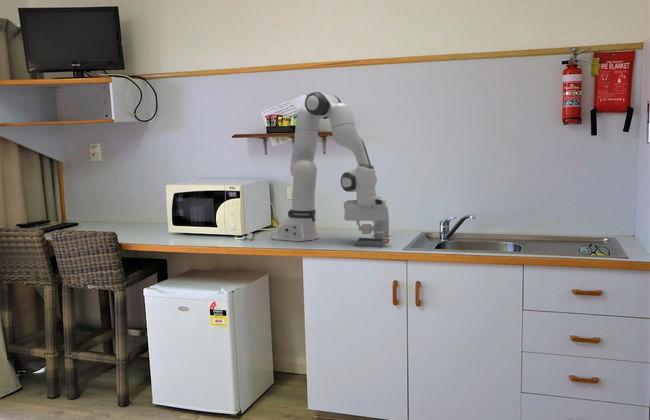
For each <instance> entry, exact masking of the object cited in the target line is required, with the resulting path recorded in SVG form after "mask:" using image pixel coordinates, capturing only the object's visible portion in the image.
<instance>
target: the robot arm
mask: <svg viewBox="0 0 650 420" xmlns="http://www.w3.org/2000/svg"><path fill="white" fill-rule="evenodd" d="M322 119H323V120H326V119H327V120H329V123H330V128H331V133H332V137H333V139H334V140H333V141H334V142H336V143H337V144H338V145H339V146H341V147H344V148H346V149H348V150H350V151H351V152H352V153H353V154H354V156H355V159H356V160H355V161H356V163H357V166H356V167H355V168H353V169H351V170H349V171H346V172H343V174H342V175H341V178H340V186H341V189H343V191H345V192H347V193H353V192H354V193H356V199H353V200H348V199H347V200H345V201H344V203H343V209H344V213H343V214H344V216H343V219H344V220H345V222H346V221H348V222H349V221H351V222H352V221H354V222H355V221H356V222H355V224H356V225H357V226H358V231H362V225H361V224H360V223H361V222H362V221H367V222H368V221H369V222H372V223H373V224H372V225H371V232H374V226H375V225H376V223H377V221H387V220H388V219H389V220H390V216H389V207H388V205H387V204H386V203H387V200H386V198H385V197H384V198H383V197H380V196H377V192H376V186H377V185H376V184H377V181H378V180H377V179H378V178H377V174H376V169H375V166H373V165H372V164H371V160H370V158H369V154H368V151H367V148H366V145H365V142H364V141H363V139H362V137H360V135H359V133H358V131H357V129H356V125H355V119H354V116H353V112H352V110H351V107H350V105H349V104H348V103H346V102H342V101H341V99H340V98H338V96H336V95H334V94H330V93H327V92H320V91H315V92H311V93H309V94H308V95H307V96H306V97H305V100H304V106H303V107H301V108H300V109H298V113H297V116H296V122H295V127H294V128H295V129H294V130H295V131H294V139H293V140H294V141H293V148H292V155H291V159H290V165H289V167H290V168H289V171H290V175H291V176H292V177H293V184H292V192H291V209H289V210H288V211H287V216H288V217H287V218H285V219H284V220H283V221H282V222H281V223H279V224H278V226H277V228H276V232H275V234H274V235H272V236H271V239H272V240H277V241H292V242H293V241H294V242H304V241H313V240H317V239H319V236H318V233H317V226H316V221H317V213H316V212H317V211H316V209H315V208H316V207H315V202H316V201H315V197H316V196H315V195H316V194H315V193H316V185H317V184H316V183H317V176H318V175H317V174H318V168H317V165H316V163H315V162H314V159H315V155H316V151H317V148H318V147H317V146H318V138H319V137H318V135H319V124H320V122H321V120H322Z"/></svg>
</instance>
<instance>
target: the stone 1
mask: <svg viewBox="0 0 650 420" xmlns="http://www.w3.org/2000/svg"><path fill="white" fill-rule="evenodd" d="M361 226H362V230H361V235H371V234H372V231H371V226H372V224H371V223H362V224H361Z"/></svg>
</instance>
